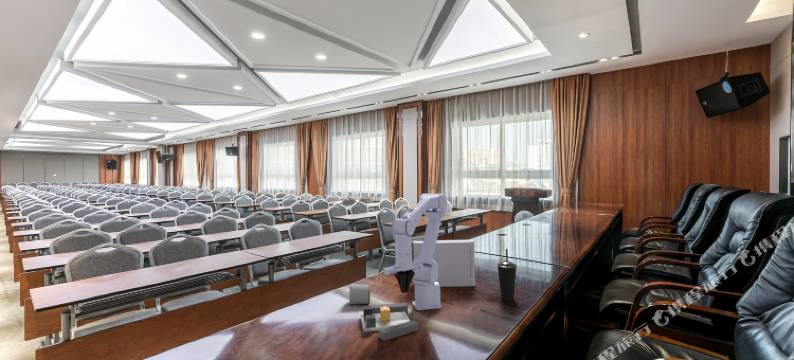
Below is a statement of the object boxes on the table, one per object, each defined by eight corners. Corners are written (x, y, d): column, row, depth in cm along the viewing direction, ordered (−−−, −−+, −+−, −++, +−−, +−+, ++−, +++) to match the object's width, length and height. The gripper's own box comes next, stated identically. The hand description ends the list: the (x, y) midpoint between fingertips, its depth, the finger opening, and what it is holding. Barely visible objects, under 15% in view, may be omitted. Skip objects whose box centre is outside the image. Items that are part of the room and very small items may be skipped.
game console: (476, 286, 156) (475, 242, 156) (414, 287, 157) (413, 243, 156) (473, 282, 162) (472, 239, 162) (414, 283, 162) (413, 240, 162)
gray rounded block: (370, 306, 136) (370, 286, 136) (349, 307, 135) (348, 287, 135) (370, 297, 146) (370, 278, 146) (350, 298, 146) (350, 279, 146)
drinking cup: (496, 301, 139) (495, 250, 138) (498, 294, 146) (497, 246, 145) (516, 303, 136) (516, 251, 135) (518, 296, 143) (517, 247, 142)
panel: (404, 313, 128) (404, 302, 128) (411, 326, 117) (411, 314, 117) (360, 318, 125) (360, 306, 125) (363, 332, 114) (363, 319, 114)
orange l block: (388, 316, 123) (388, 305, 123) (390, 320, 120) (390, 309, 120) (380, 317, 122) (379, 306, 122) (381, 321, 119) (381, 310, 119)
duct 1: (406, 310, 132) (406, 302, 132) (407, 314, 129) (407, 305, 129) (372, 312, 130) (371, 304, 130) (372, 316, 127) (372, 308, 127)
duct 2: (413, 327, 117) (413, 320, 117) (418, 331, 115) (418, 323, 115) (379, 338, 111) (378, 330, 111) (383, 341, 108) (383, 333, 108)
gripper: (415, 248, 129) (416, 285, 129) (379, 253, 122) (380, 292, 122) (426, 252, 123) (426, 290, 123) (389, 257, 116) (390, 298, 116)
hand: (404, 292), depth 122 cm, fingers closed
